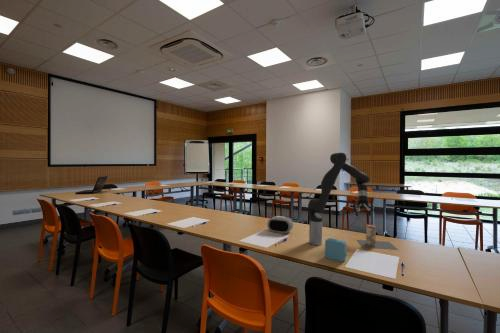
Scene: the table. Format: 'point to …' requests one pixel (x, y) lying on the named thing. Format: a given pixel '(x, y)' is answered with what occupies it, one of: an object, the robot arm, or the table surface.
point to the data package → (335, 249)
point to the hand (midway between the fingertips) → (363, 216)
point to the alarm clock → (280, 224)
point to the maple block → (371, 235)
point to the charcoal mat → (377, 245)
